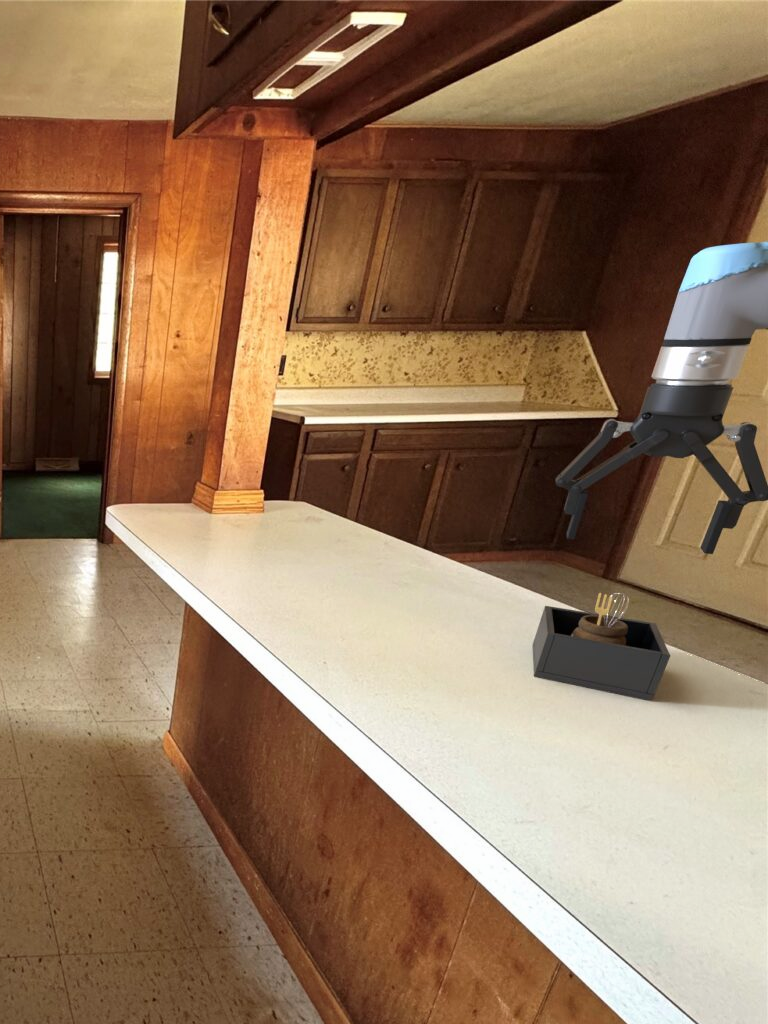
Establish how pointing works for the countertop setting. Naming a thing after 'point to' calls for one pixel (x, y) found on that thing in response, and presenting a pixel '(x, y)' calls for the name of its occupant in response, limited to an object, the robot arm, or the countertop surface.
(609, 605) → the utensil holder
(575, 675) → the dark grey open box
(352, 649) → the countertop surface
